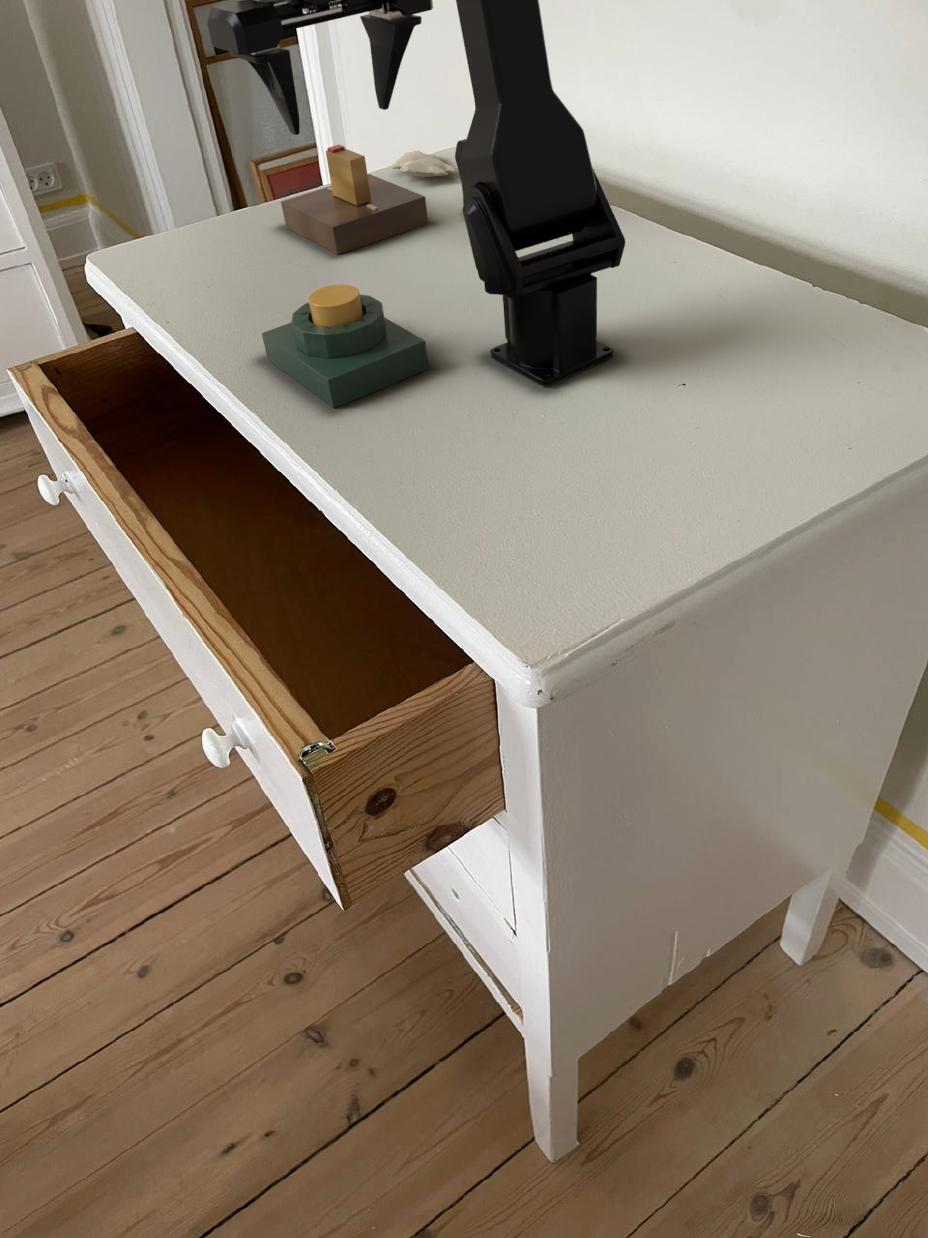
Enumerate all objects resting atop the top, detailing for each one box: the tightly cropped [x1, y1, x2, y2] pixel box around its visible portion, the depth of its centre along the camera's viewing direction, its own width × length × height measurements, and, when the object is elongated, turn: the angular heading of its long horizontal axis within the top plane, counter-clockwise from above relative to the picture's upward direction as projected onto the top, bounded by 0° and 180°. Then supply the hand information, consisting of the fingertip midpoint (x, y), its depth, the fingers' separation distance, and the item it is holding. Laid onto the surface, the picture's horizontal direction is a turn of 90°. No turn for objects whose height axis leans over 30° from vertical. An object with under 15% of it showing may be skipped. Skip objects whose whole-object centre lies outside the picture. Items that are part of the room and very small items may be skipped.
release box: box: [261, 294, 429, 409], centre depth 70 cm, size 10×8×4 cm
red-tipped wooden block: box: [325, 144, 371, 206], centre depth 90 cm, size 4×2×4 cm, turn 36°
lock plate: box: [280, 173, 429, 255], centre depth 92 cm, size 10×10×3 cm
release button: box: [308, 284, 363, 327], centre depth 69 cm, size 4×4×2 cm
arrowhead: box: [390, 150, 459, 178], centre depth 103 cm, size 7×2×10 cm
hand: (340, 120), depth 87 cm, fingers open, 9 cm apart
